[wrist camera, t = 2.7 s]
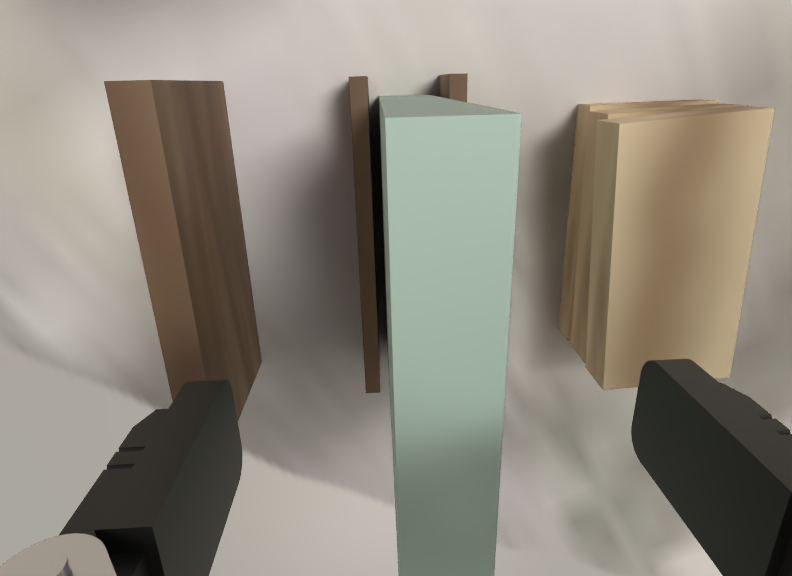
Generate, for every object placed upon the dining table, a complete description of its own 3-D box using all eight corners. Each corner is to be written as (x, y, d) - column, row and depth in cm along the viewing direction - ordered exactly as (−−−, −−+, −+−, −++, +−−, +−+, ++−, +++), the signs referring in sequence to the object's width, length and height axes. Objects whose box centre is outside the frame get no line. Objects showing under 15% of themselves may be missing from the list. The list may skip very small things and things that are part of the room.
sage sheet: (429, 94, 21) (521, 113, 8) (429, 341, 25) (490, 631, 12) (378, 96, 21) (385, 117, 8) (387, 343, 25) (401, 635, 12)
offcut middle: (717, 103, 20) (748, 105, 18) (679, 336, 24) (702, 355, 22) (588, 111, 20) (608, 113, 18) (570, 343, 24) (585, 363, 22)
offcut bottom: (692, 99, 22) (719, 100, 20) (656, 317, 25) (676, 334, 24) (573, 103, 21) (590, 105, 20) (554, 322, 25) (567, 339, 24)
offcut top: (737, 105, 18) (774, 108, 17) (702, 354, 22) (730, 377, 20) (596, 120, 18) (619, 123, 17) (585, 366, 22) (603, 390, 20)
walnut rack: (454, 74, 20) (492, 70, 14) (450, 354, 25) (477, 450, 18) (191, 82, 20) (104, 81, 14) (235, 363, 25) (186, 464, 18)
